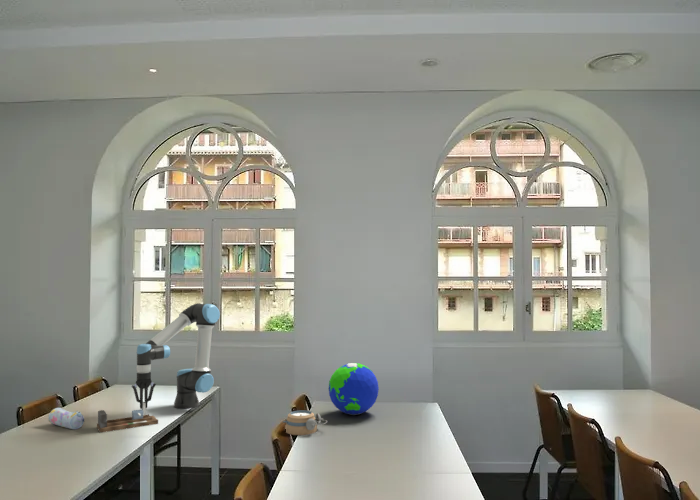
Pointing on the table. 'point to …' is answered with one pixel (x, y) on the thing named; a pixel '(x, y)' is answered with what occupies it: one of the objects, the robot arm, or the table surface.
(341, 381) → the globe
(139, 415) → the blue grey block
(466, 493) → the table surface
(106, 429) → the board
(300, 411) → the alarm clock
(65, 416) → the pencil case
